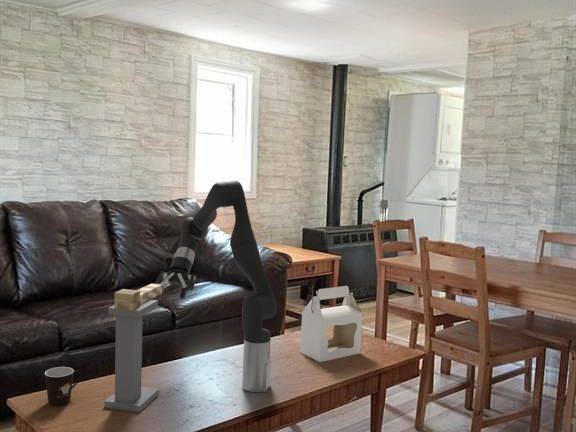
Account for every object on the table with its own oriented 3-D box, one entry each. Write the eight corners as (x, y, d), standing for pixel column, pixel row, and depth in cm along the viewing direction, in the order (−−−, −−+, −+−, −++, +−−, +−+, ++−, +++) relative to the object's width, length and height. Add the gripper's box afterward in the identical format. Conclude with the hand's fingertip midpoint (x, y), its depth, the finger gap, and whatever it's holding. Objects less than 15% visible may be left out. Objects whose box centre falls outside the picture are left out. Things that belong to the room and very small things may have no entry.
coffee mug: (45, 409, 180) (46, 378, 179) (43, 399, 187) (43, 369, 186) (85, 403, 185) (85, 373, 184) (81, 393, 193) (81, 364, 192)
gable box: (339, 344, 256) (343, 281, 253) (360, 353, 245) (364, 288, 242) (299, 352, 243) (302, 286, 240) (319, 362, 232) (322, 293, 229)
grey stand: (158, 394, 195) (160, 300, 191) (139, 412, 181) (141, 311, 178) (125, 390, 197) (127, 297, 194) (104, 407, 183) (105, 307, 180)
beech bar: (148, 291, 203) (149, 277, 202) (164, 293, 202) (165, 279, 201) (114, 308, 180) (114, 292, 179) (132, 310, 178) (132, 294, 178)
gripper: (162, 254, 223) (149, 289, 213) (198, 257, 220) (185, 293, 210) (168, 265, 228) (154, 301, 218) (202, 268, 226) (190, 304, 215)
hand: (170, 297), depth 214 cm, fingers open, 8 cm apart
